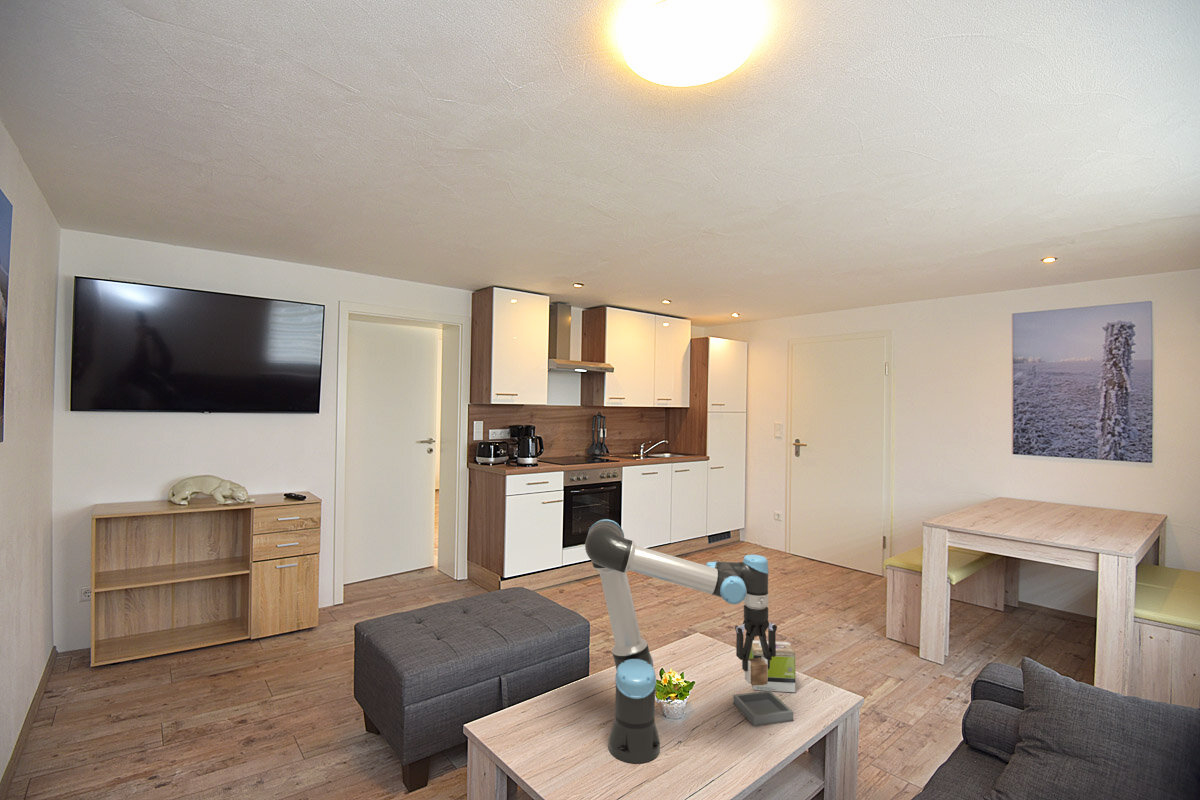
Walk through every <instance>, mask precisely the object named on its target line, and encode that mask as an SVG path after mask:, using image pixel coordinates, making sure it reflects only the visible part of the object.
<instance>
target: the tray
mask: <svg viewBox="0 0 1200 800" xmlns="http://www.w3.org/2000/svg"><path fill="white" fill-rule="evenodd" d="M732 703H733V705H734V707H736V708H737V710H738V711H740V712H741V714H742V716H744V717H745V718H746V719H747V720H748V721H749V722H750V723H751V724H752V726H754V727H757V726H758V727H760V726H766V725H774V724H782V723H790V722H794V711H793V709H791V708H790V707H789V706H787V704H785V703H784V702H783V701H782V700H781V699H780V698H779V697H778V696H776V694H774V693H773V691H763V690H762V691H755V692H746V693H737V694H733V702H732Z"/></svg>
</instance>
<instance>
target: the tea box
mask: <svg viewBox="0 0 1200 800" xmlns="http://www.w3.org/2000/svg"><path fill="white" fill-rule="evenodd" d="M766 640H767V639H766ZM767 644H768V640H767ZM761 657H764V655H763V651H762V647H761V643H760V639H754V640H753V643H752V647H751V651H750V656H749V659H753V658H760V659H761ZM771 658H772V660H770V668H769V669H768V681H767V684H764V685H755V686H752V685H751V686H752V689H753V690H754V691H762V692H763V691H771V692H780V693H781V692H783V693H796V692H797V691H796V685H797V683H796V682H797V681H796V651H795V650H794V648H793V646H792V645H791V643H790V641H787V640H786V641H784V640H776V656H775V657H771Z"/></svg>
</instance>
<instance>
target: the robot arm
mask: <svg viewBox="0 0 1200 800" xmlns="http://www.w3.org/2000/svg"><path fill="white" fill-rule="evenodd" d="M584 545H585V546H584V547H585V548H584V549H585V552H586V555H587V556H588V557H587V558H589V560H591V563H592V568H593V569H595V570H596V571H598V573H599V578H600V581H601V586H602V591H603V596H604V599H605V604H606V609H607V612H608V617H609V622H610V626H611V631H612V635H613V639H614V646H613V647H612V649H611V652H612V656H613V657H612V658H613V662H614V665H615V669H616V670H615V671H616V672H615V678H614V679H615V703H614V704H615V711H614V713H615V715H614V721H613V724H612V726H611V727H612V728H611V731H610V733H609V737H608V750H609V752H610V754H611V755H612V756H614V757H615V758H616V759H618V760H620V761H623V762H626V763H630V764H643V763H648V762H650V761H653V760H654V759H656V758H657V756H659V754H660V751H661V740H660V736H659V732H658V730H657V726H656V723H655V713H656V712H655V711H656V709H655V708H656V684H657V677H656V676H657V675H656V671H655V668H654V661H653V657H652V655H651V653H650V650H649V648H650V647H649V644H648V641H647V640H646V639H645V638H643V637H642V634H641V631H640V626H639V622H638V617H637V613H636V609H635V604H634V599H633V596H632V591H631V587H630V582H629V578H628V577H629V576H628V573H627V572H632V573H637V574H640V575H644V576H647V577H650V578H653V579H658V580H660V581H664V582H667V583H671V584H674V585H677V586H681V587H684V588H689V589H691V590H696V591H699V592H702V593H705V594H709V595H712V596H715V597H719V598H721V599H722V600H723V601H725V602H726V603H728V604H730V605H738V604H740V603H742V602H743V604H744V605H743V622H742V624H740V625H739V626H738V625H735V626H734V629H735V632H736V637H735V638H736V639H735V640H736V643H735V644H736V648H735V649H736V652H735V653H736V655H735V656H736V657H737V658H738V660H740V661H741V662H742V663H741V664H742V665H741V668H742V670H743V671H744V680H745V681H746V682H747V684H750V683H751V661H750V660H749V656H750V651H751V647H752V643H753V640H755V637H758V640H760V643H761V647H762V651H763V655H764V657H761V660H762V661H764V662H765V663H766V664H767V681H768V669H769V668H770V660H772V658H771V657H775V656H776V641H777V639H776V632H777V629H778V626H777V625H776V624H775V623H773V622H769V607H768V606H769V561H768V559H767V558H766V557H765V556H763V555H759V554H746V555H744V557H743V560H742V561H740V562H738V561H736V562H735V561H708V562H706V564H702V563H700V562H699V563H697V562H695V561H691V560H688V559H684V558H680V557H678V556H674V555H670V554H667V553H664V552H660V551H657V550H654V549H649V548H647V547H646V548H645V547H644V546H640V545H637V544H636V543H635V541H634V540H631V539H628V538H625V532H624V530H623V529H622V527H621V526H620V525H619V523H618V522H616V521H615V520H611V519H605V518H604V519H600V520H598V521H596V522H595V523H593V524H592V525H591V527H590V528H589V529H588V532H587V536H586V539H585V542H584ZM767 629H768V630H767ZM766 631H767V633H768V634H766ZM744 633H745V639H744ZM767 637H768V638H767ZM767 639H768V644H767Z"/></svg>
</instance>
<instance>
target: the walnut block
mask: <svg viewBox="0 0 1200 800" xmlns="http://www.w3.org/2000/svg"><path fill="white" fill-rule="evenodd" d="M749 660H750V661H751V683H749V684H750V685H751V686H755V685H764V684H767V664H766V663H765V662H764V661H762V660H761V659H760V658H753V659H749Z"/></svg>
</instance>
